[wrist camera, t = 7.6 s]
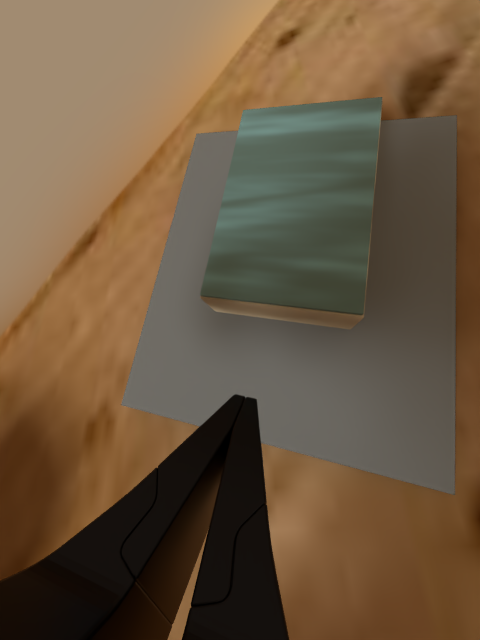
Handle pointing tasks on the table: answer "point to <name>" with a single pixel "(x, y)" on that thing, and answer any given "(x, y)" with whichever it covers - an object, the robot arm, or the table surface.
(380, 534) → the table surface
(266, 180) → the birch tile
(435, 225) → the rubber mat
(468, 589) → the table surface
